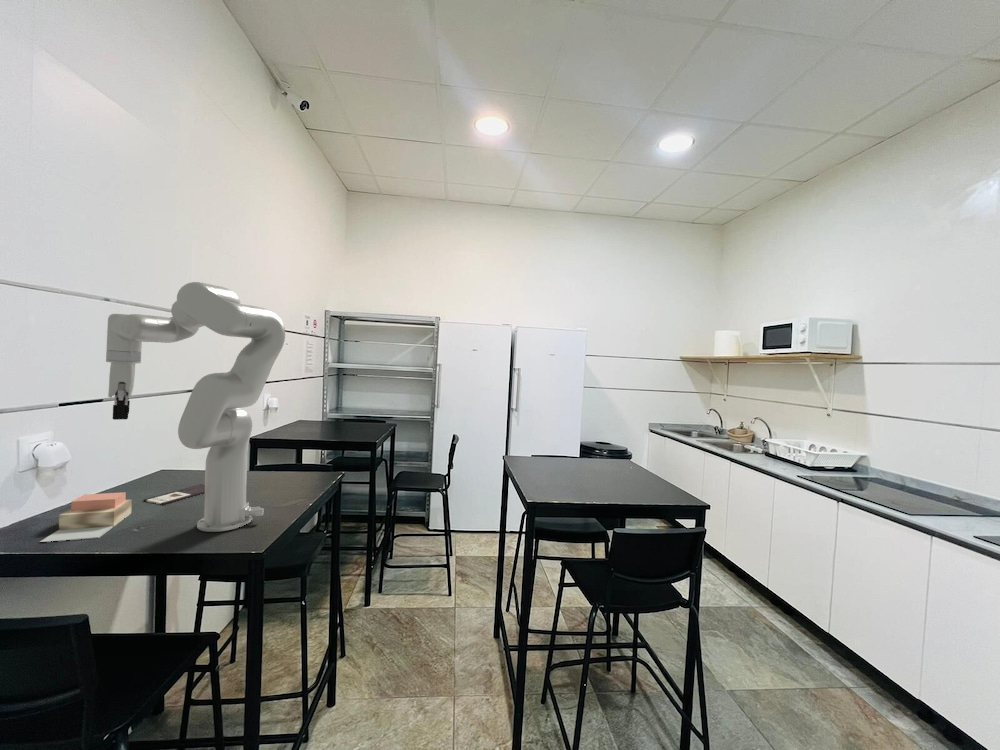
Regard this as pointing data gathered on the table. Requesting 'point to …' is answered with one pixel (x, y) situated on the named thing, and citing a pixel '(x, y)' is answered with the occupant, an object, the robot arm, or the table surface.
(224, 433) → the robot arm
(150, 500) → the chocolate bar
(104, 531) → the mat
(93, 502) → the pink rubber eraser
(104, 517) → the wooden block
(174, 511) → the table surface
